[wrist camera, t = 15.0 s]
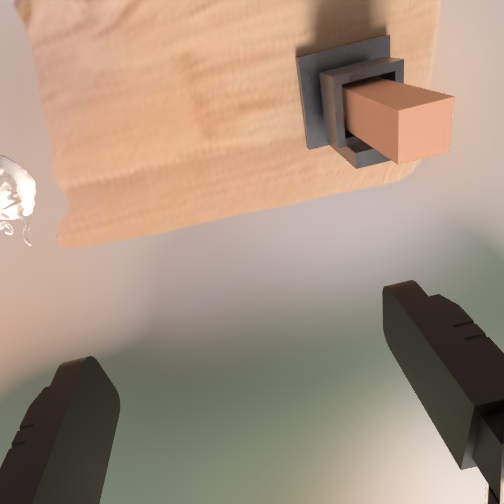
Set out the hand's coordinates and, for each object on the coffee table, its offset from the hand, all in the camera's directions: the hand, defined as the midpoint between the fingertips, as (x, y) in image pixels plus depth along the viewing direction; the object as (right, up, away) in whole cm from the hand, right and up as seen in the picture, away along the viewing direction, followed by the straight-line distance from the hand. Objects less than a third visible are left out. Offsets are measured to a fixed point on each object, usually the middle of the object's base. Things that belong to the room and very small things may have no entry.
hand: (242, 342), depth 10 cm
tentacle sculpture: (-30, +10, +33) cm, 46 cm away
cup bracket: (+11, +21, +31) cm, 39 cm away
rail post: (+11, +19, +28) cm, 35 cm away
